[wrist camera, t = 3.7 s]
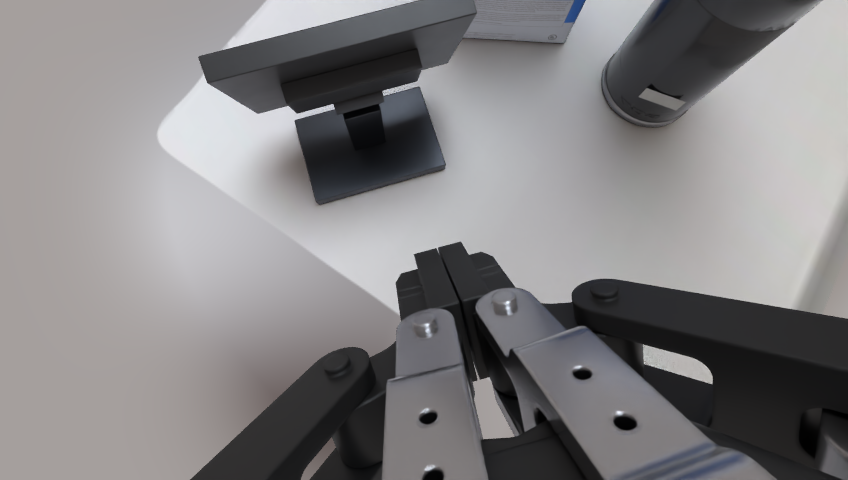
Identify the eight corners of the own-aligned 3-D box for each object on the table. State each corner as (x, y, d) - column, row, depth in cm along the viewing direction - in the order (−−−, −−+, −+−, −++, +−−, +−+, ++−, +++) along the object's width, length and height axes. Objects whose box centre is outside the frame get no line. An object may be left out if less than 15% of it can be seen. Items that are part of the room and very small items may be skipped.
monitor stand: (297, 125, 43) (273, 84, 36) (419, 92, 44) (419, 46, 37) (318, 205, 41) (297, 179, 34) (445, 169, 42) (450, 136, 35)
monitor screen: (250, 94, 36) (196, 54, 25) (442, 43, 37) (470, -16, 26) (266, 139, 36) (219, 120, 25) (454, 88, 37) (486, 49, 27)
